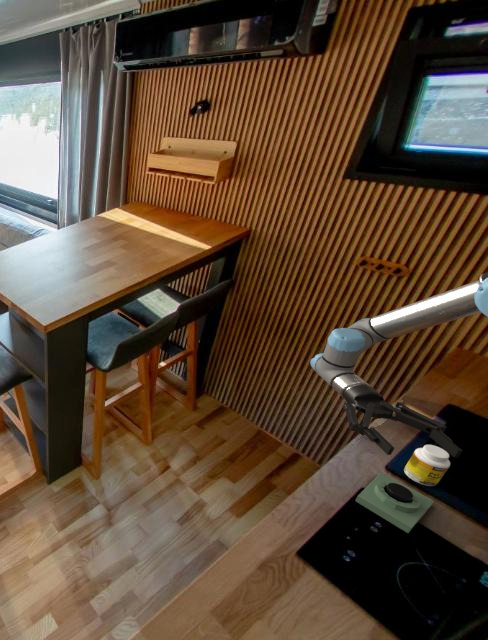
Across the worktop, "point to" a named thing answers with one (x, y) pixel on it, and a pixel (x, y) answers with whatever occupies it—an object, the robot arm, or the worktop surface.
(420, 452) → the supplement bottle
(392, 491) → the button
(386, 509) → the button box
